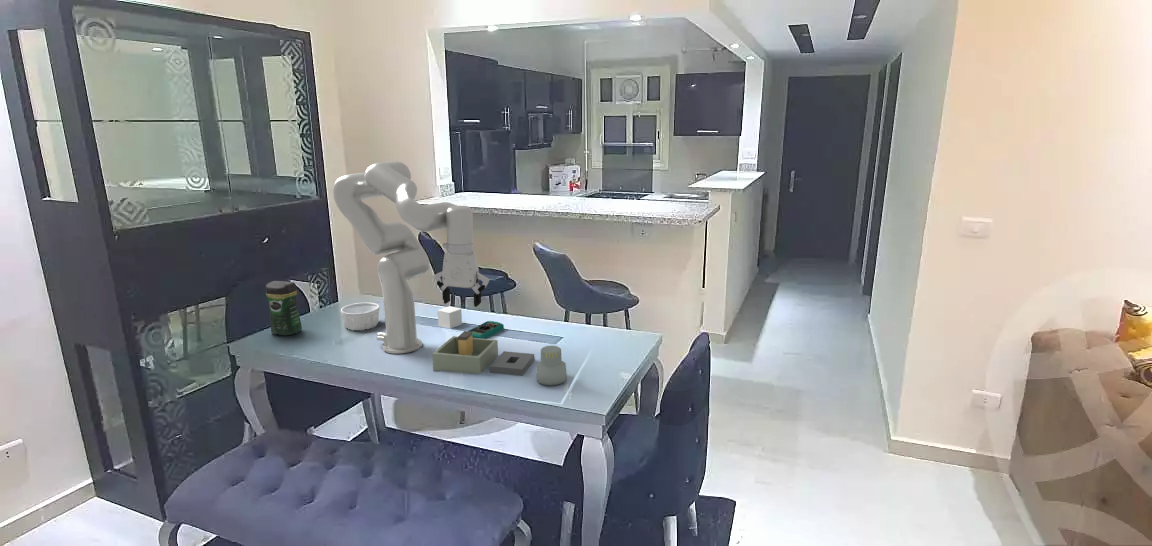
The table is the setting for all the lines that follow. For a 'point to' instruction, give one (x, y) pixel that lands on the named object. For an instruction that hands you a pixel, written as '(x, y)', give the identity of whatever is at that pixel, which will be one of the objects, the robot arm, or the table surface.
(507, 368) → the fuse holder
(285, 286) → the coffee jar
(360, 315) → the ramekin
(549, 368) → the air freshener
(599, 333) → the table surface
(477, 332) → the digital multimeter
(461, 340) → the block
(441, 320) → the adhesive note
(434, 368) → the parts tray
